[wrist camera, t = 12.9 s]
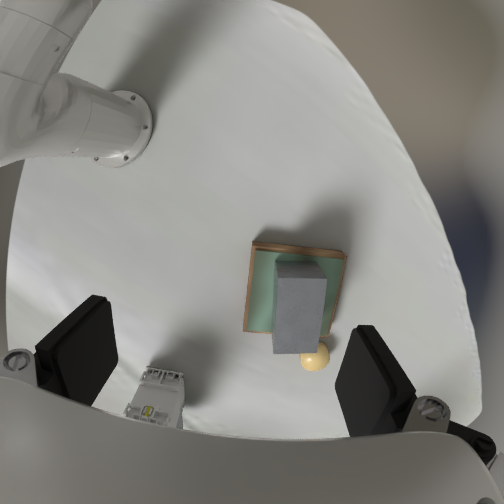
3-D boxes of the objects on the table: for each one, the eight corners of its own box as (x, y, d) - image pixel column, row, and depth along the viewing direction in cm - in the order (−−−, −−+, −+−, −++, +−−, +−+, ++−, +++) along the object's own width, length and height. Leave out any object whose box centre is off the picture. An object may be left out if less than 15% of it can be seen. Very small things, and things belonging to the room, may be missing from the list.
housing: (274, 260, 41) (278, 278, 34) (316, 261, 41) (327, 278, 34) (271, 327, 44) (273, 353, 37) (309, 327, 44) (317, 353, 37)
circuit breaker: (154, 413, 54) (136, 463, 40) (146, 366, 50) (120, 420, 36) (186, 419, 54) (173, 471, 40) (183, 372, 50) (164, 430, 36)
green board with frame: (243, 323, 47) (242, 332, 44) (252, 241, 43) (252, 246, 40) (325, 329, 47) (328, 338, 44) (342, 251, 44) (347, 256, 41)
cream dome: (297, 362, 50) (298, 370, 47) (302, 339, 48) (304, 347, 46) (323, 363, 50) (326, 371, 47) (329, 341, 48) (332, 348, 46)
